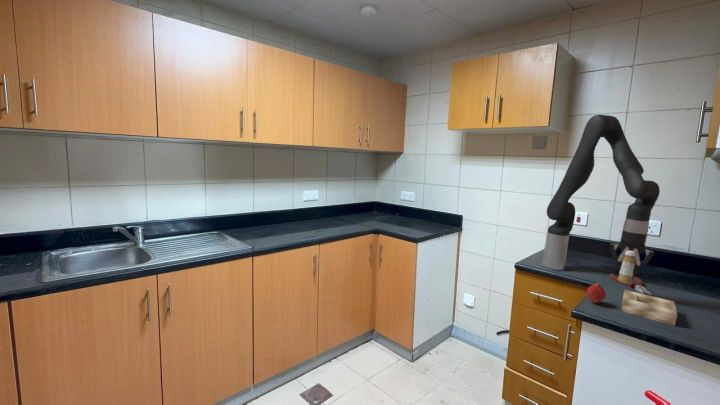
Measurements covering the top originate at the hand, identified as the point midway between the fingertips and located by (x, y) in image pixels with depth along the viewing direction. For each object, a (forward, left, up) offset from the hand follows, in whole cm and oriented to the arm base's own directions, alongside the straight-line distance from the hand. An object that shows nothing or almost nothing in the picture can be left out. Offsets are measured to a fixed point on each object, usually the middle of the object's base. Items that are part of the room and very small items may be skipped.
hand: (626, 271), depth 129 cm
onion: (-8, -19, -10) cm, 23 cm away
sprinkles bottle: (0, 0, -5) cm, 5 cm away
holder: (+7, -13, -10) cm, 18 cm away
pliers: (+2, +16, -11) cm, 19 cm away
